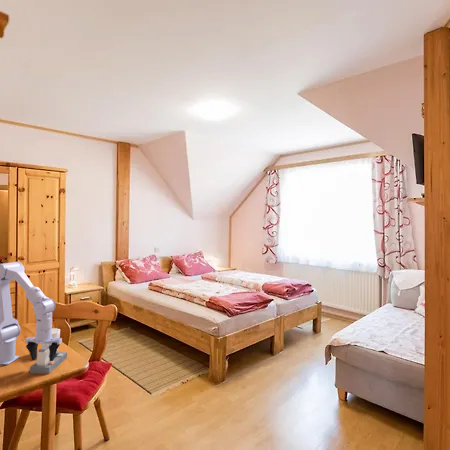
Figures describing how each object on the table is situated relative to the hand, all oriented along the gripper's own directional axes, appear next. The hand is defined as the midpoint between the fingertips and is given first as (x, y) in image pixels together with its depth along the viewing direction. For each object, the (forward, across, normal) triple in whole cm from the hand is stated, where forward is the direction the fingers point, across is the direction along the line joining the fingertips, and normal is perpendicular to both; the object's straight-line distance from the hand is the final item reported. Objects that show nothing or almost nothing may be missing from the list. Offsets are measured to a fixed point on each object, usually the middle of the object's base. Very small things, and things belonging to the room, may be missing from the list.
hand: (43, 359), depth 134 cm
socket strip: (+4, +1, +4) cm, 5 cm away
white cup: (+4, -6, +17) cm, 19 cm away
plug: (+4, 0, 0) cm, 4 cm away
